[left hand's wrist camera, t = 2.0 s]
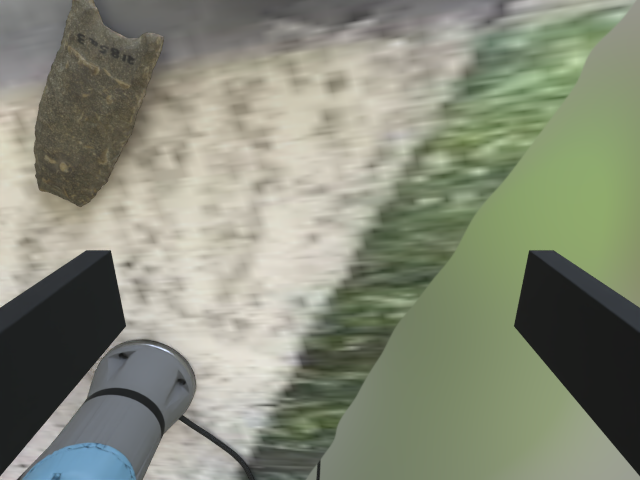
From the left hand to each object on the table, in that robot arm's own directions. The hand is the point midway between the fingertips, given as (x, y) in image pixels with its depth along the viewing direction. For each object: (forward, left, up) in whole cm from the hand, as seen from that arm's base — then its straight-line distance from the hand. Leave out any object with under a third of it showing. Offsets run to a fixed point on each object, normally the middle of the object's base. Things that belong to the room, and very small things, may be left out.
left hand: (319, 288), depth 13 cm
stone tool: (-4, -28, -40) cm, 49 cm away
